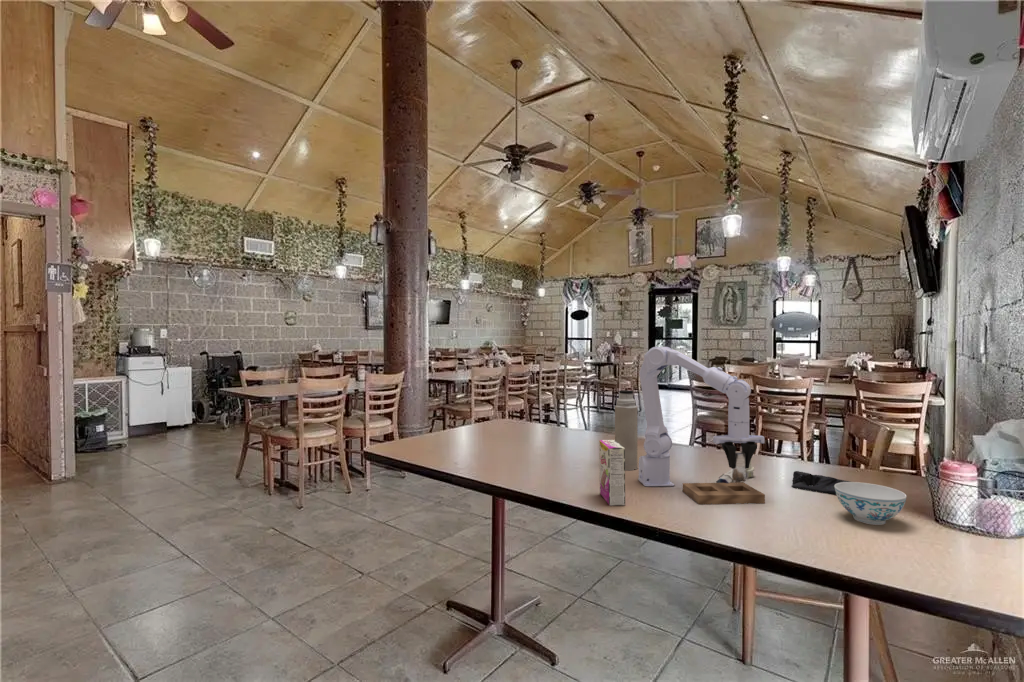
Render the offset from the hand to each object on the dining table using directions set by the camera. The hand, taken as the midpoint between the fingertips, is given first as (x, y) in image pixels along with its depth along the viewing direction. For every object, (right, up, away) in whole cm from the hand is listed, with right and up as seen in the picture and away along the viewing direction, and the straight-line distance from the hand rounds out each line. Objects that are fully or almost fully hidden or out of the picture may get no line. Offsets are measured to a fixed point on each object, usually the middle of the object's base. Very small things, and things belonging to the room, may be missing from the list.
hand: (738, 467), depth 147 cm
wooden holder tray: (-5, -9, 0) cm, 10 cm away
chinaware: (+25, -9, -19) cm, 32 cm away
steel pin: (0, -4, 0) cm, 4 cm away
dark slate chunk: (+33, -9, +8) cm, 35 cm away
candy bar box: (-38, -9, -3) cm, 39 cm away
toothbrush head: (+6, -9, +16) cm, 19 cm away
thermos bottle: (-25, -9, +34) cm, 43 cm away
